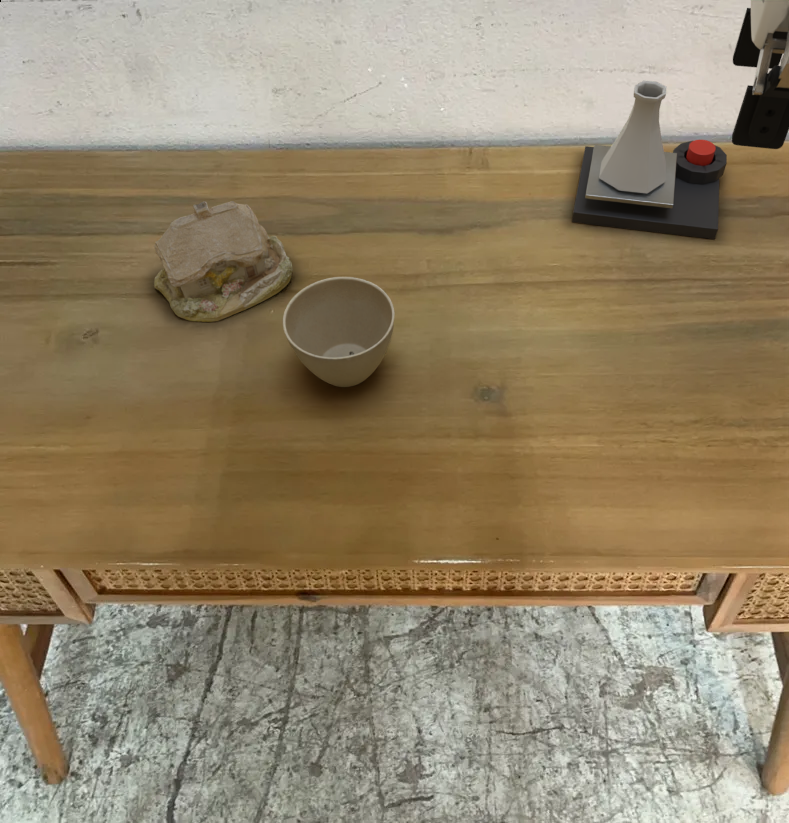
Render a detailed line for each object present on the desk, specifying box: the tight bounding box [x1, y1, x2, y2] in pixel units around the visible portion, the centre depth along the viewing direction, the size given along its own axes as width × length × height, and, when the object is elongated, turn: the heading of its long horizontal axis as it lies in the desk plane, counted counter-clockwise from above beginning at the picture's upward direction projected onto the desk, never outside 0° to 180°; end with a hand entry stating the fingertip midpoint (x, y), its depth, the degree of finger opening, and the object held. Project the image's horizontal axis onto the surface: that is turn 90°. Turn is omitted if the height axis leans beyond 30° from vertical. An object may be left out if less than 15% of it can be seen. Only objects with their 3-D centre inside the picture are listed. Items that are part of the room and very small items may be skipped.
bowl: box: [282, 276, 396, 388], centre depth 77 cm, size 10×10×7 cm
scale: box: [571, 140, 728, 240], centre depth 92 cm, size 15×13×3 cm
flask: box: [599, 80, 668, 193], centre depth 86 cm, size 7×7×10 cm
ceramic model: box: [153, 200, 293, 323], centre depth 84 cm, size 14×11×10 cm
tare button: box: [686, 139, 716, 166], centre depth 91 cm, size 3×3×2 cm
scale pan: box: [585, 144, 677, 208], centre depth 90 cm, size 9×9×1 cm
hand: (755, 103), depth 58 cm, fingers open, 9 cm apart
